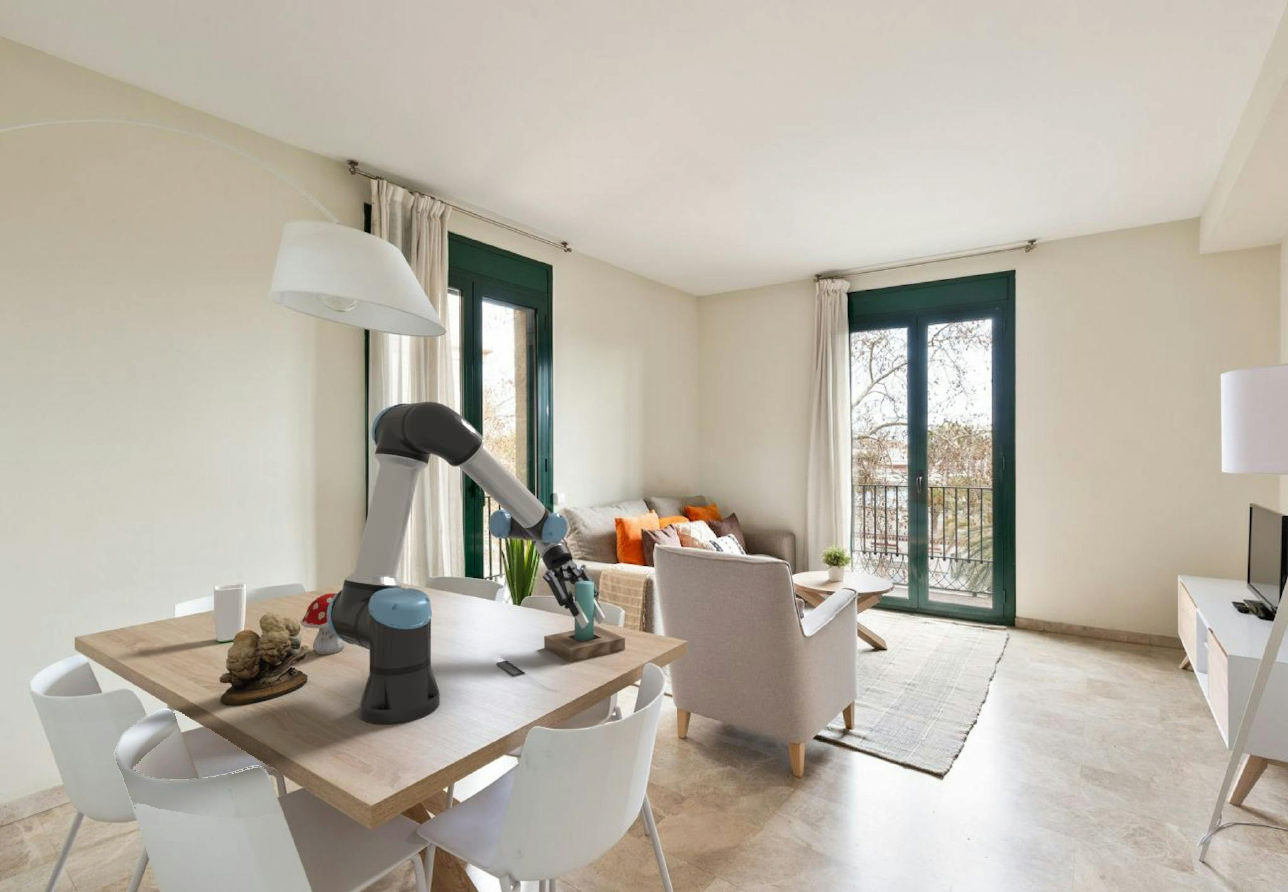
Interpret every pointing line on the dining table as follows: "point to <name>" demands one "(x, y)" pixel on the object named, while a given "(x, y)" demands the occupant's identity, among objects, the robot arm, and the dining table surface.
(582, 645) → the walnut holder
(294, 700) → the dining table surface
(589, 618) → the teal peg
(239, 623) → the cup
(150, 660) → the dining table surface
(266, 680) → the brown lumpy sculpture
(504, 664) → the charcoal mat
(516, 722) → the dining table surface
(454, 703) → the dining table surface
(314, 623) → the decorative mushroom
